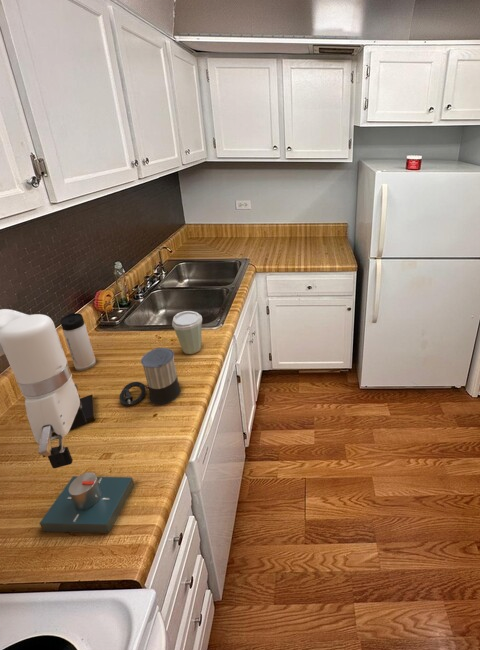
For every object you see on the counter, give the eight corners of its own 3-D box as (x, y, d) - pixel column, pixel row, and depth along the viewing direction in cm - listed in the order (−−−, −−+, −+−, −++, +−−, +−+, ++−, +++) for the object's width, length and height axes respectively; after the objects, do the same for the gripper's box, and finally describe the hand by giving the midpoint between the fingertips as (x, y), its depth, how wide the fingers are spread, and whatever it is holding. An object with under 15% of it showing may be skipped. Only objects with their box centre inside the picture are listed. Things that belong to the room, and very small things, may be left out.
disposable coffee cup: (209, 341, 132) (205, 308, 126) (202, 359, 122) (197, 324, 116) (183, 342, 132) (177, 309, 126) (173, 359, 122) (166, 324, 116)
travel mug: (96, 357, 123) (82, 310, 115) (96, 367, 118) (82, 318, 110) (75, 363, 119) (60, 315, 112) (75, 373, 114) (58, 324, 107)
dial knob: (69, 510, 70) (62, 493, 69) (84, 487, 75) (78, 470, 73) (92, 511, 70) (86, 494, 68) (106, 487, 75) (101, 471, 73)
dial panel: (43, 532, 69) (38, 522, 68) (76, 484, 79) (72, 475, 77) (109, 533, 69) (106, 524, 68) (134, 485, 78) (132, 476, 77)
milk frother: (186, 394, 106) (179, 356, 100) (134, 424, 95) (123, 383, 89) (166, 373, 115) (158, 337, 109) (116, 399, 104) (105, 360, 98)
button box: (43, 441, 89) (38, 430, 88) (45, 416, 97) (41, 406, 96) (95, 421, 96) (92, 411, 94) (94, 399, 103) (90, 389, 102)
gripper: (40, 355, 69) (64, 417, 75) (-3, 418, 53) (31, 490, 60) (82, 347, 71) (102, 408, 77) (52, 406, 56) (79, 476, 62)
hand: (71, 444), depth 68 cm, fingers open, 9 cm apart
